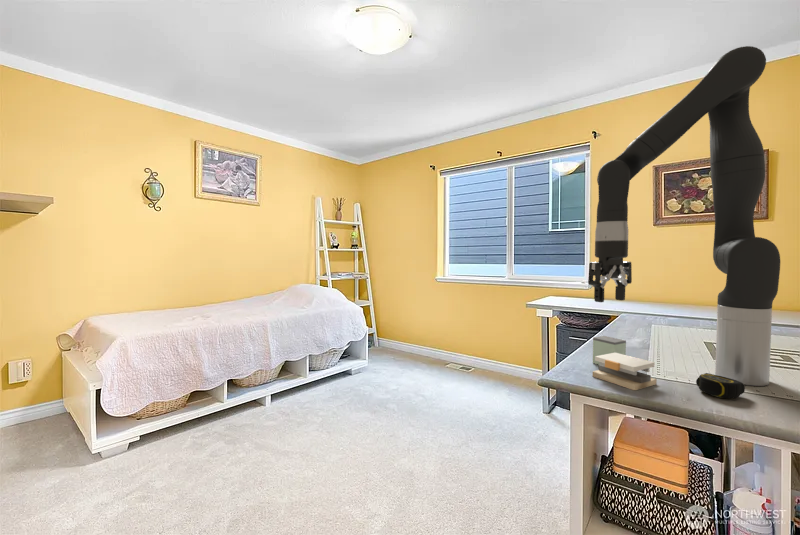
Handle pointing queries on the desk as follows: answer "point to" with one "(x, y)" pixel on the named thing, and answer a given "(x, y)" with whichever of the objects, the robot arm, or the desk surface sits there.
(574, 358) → the desk surface
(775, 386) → the desk surface
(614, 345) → the block
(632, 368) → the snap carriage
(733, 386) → the tape measure
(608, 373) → the rail stand
